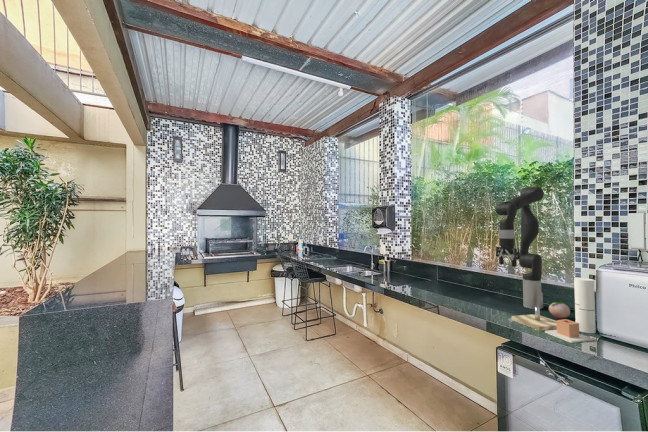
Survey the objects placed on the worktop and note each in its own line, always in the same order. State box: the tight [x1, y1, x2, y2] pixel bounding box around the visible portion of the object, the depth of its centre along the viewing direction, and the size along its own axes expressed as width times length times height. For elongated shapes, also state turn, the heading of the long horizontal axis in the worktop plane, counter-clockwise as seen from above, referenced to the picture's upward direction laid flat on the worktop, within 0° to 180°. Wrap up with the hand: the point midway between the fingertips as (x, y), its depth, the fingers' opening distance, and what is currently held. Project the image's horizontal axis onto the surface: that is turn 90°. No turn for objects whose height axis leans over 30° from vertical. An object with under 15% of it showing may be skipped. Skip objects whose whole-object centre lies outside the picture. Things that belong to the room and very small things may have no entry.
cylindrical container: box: [573, 277, 597, 334], centre depth 137 cm, size 7×7×25 cm
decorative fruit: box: [548, 300, 571, 320], centre depth 152 cm, size 9×8×10 cm
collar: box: [556, 318, 580, 338], centre depth 130 cm, size 6×6×6 cm
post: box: [534, 307, 541, 321], centre depth 146 cm, size 2×2×6 cm
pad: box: [544, 329, 594, 344], centre depth 130 cm, size 12×12×1 cm
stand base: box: [511, 313, 557, 332], centre depth 145 cm, size 16×16×2 cm
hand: (507, 265), depth 161 cm, fingers open, 8 cm apart
